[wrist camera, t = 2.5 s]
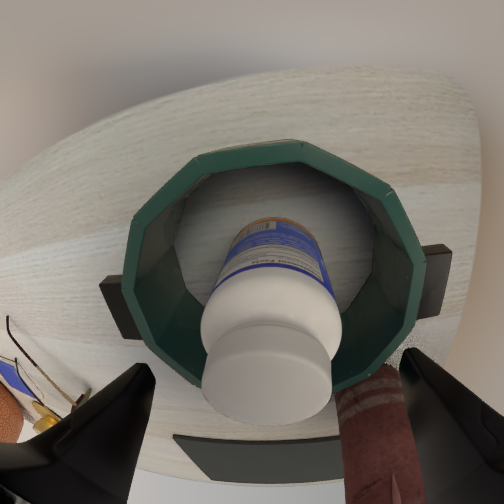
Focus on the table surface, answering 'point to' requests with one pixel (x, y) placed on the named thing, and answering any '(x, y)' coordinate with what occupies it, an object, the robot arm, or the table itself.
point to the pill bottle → (270, 327)
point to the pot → (353, 320)
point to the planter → (9, 417)
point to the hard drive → (11, 376)
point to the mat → (266, 459)
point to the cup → (44, 418)
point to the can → (378, 442)
